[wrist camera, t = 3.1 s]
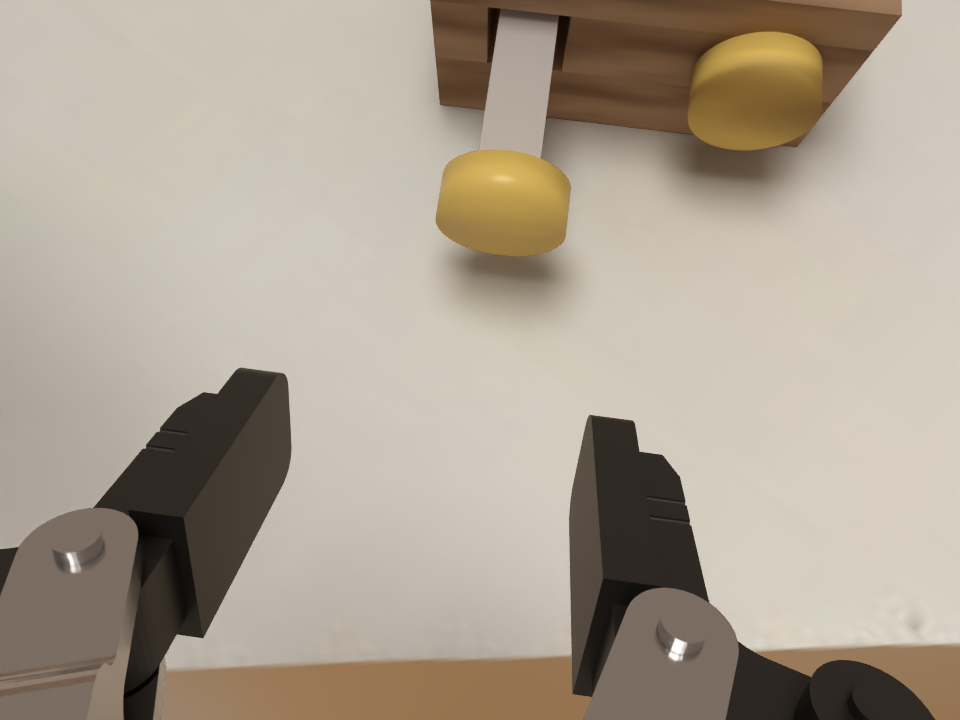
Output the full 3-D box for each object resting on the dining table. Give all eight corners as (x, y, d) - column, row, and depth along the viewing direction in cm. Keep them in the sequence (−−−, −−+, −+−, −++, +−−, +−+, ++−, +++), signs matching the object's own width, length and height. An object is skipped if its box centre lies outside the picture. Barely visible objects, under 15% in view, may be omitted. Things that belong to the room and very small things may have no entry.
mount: (795, 189, 42) (902, 69, 31) (432, 145, 43) (417, 13, 32) (800, 9, 45) (898, -154, 35) (462, -28, 46) (457, -200, 35)
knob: (558, 262, 37) (573, 206, 31) (439, 247, 37) (431, 189, 31) (585, 27, 41) (604, -65, 35) (477, 14, 41) (476, -79, 35)
